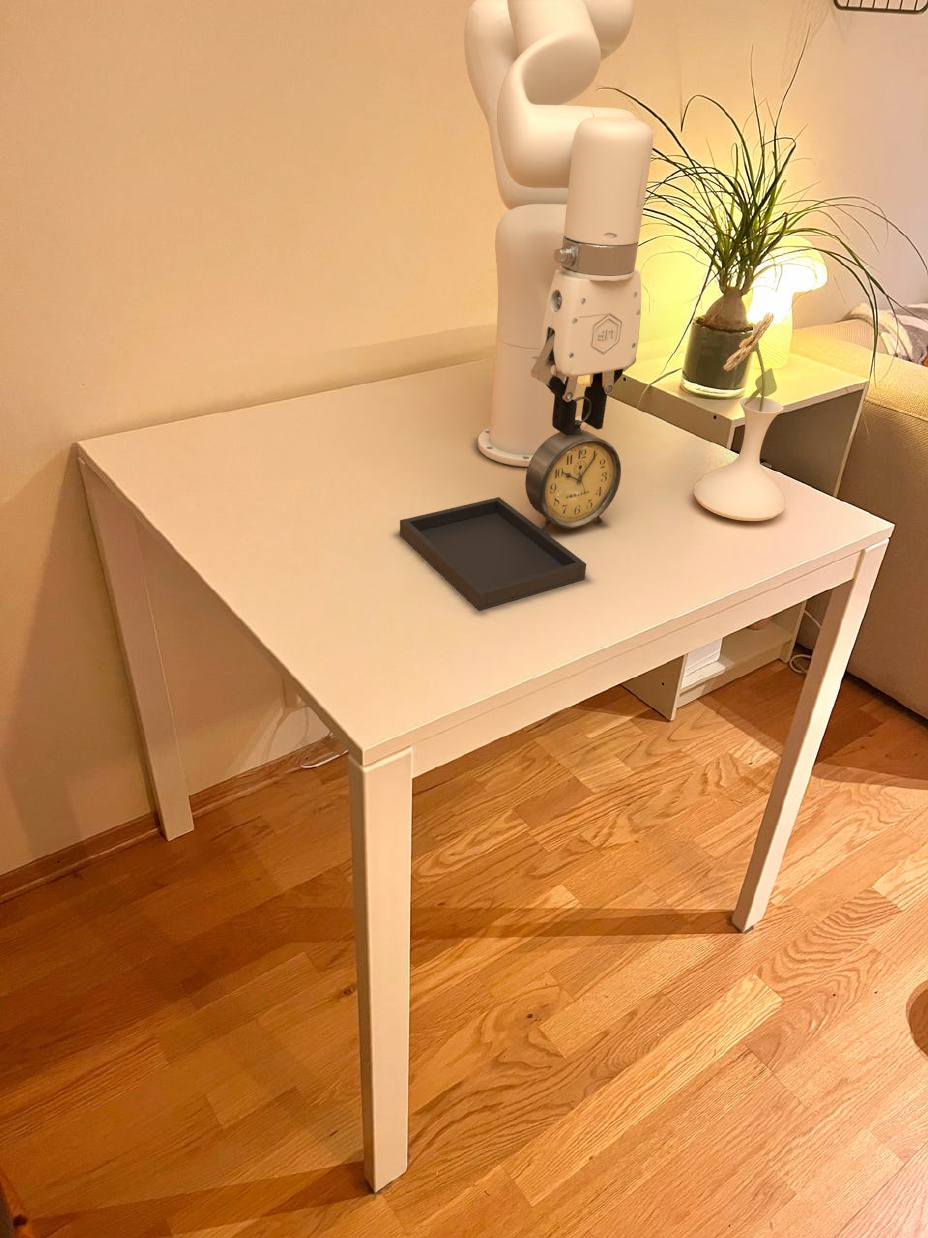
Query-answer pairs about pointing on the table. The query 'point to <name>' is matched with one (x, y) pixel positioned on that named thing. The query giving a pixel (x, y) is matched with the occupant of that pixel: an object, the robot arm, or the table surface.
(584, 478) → the alarm clock
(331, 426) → the table surface
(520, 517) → the tray
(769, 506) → the flower in vase
